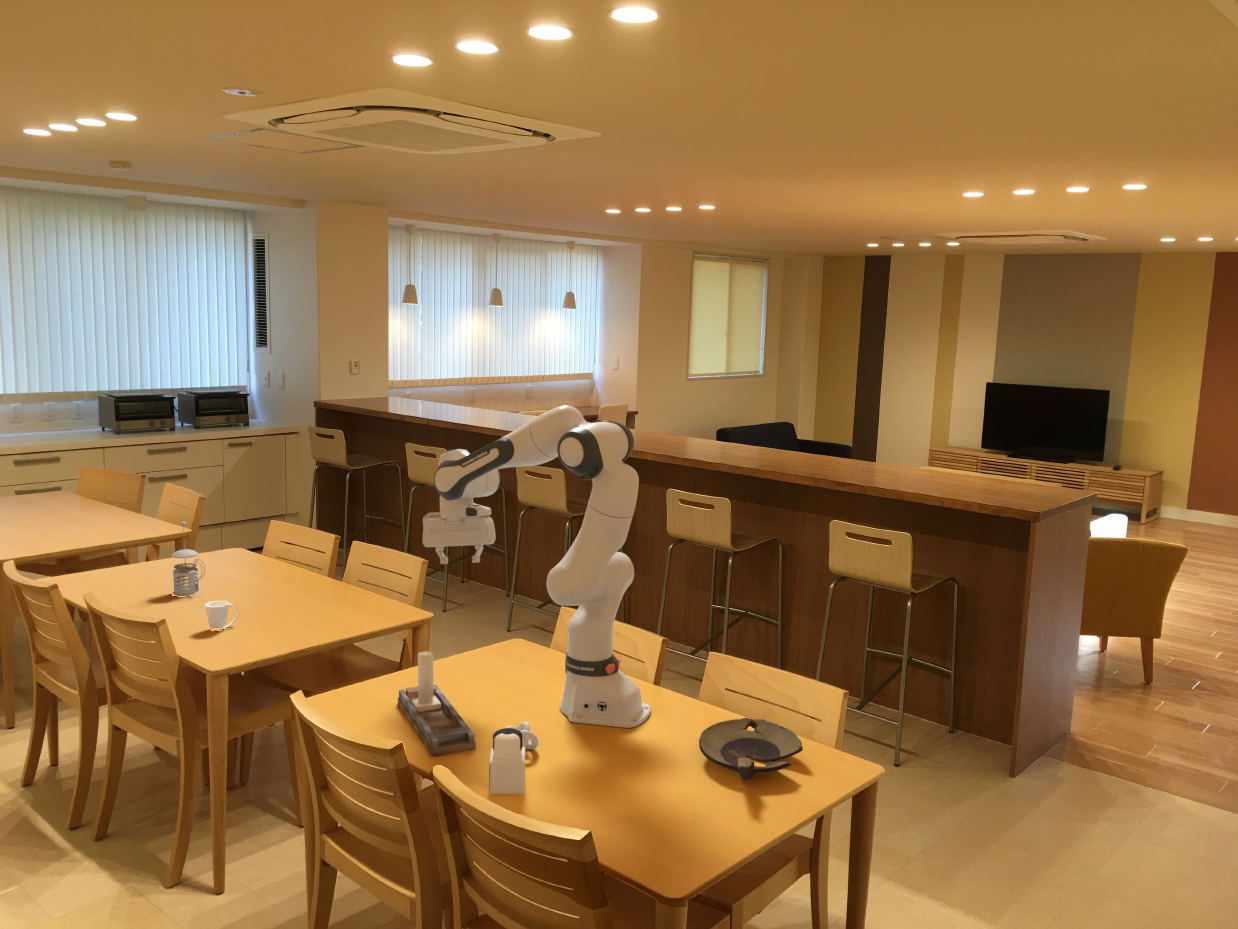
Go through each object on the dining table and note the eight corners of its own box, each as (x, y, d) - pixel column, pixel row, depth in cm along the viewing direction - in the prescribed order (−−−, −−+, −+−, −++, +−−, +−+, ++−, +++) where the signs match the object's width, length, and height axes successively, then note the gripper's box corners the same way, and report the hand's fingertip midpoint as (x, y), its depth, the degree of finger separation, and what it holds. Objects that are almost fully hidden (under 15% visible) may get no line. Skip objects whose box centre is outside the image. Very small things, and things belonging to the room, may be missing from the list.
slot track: (475, 749, 217) (475, 730, 216) (432, 756, 212) (431, 737, 212) (437, 697, 245) (437, 680, 244) (397, 703, 241) (397, 686, 240)
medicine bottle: (490, 779, 203) (491, 724, 201) (524, 778, 204) (525, 724, 202) (489, 795, 196) (489, 739, 194) (524, 795, 197) (525, 739, 195)
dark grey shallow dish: (817, 755, 218) (819, 723, 217) (760, 809, 193) (762, 773, 192) (728, 730, 230) (730, 699, 229) (664, 778, 205) (665, 744, 204)
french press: (181, 588, 334) (178, 517, 330) (212, 590, 332) (210, 519, 329) (164, 596, 324) (161, 523, 321) (196, 598, 323) (193, 525, 319)
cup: (201, 629, 292) (200, 603, 291) (233, 622, 300) (232, 597, 298) (211, 634, 288) (210, 608, 286) (244, 627, 295) (243, 601, 294)
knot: (543, 746, 219) (544, 722, 218) (531, 761, 212) (531, 736, 211) (512, 741, 221) (513, 717, 220) (499, 756, 214) (499, 731, 213)
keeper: (441, 708, 234) (441, 656, 232) (416, 712, 232) (416, 659, 230) (434, 699, 240) (434, 648, 238) (410, 703, 237) (410, 651, 235)
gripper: (416, 513, 257) (419, 565, 256) (485, 509, 250) (489, 562, 250) (428, 512, 263) (431, 563, 262) (496, 508, 256) (499, 560, 256)
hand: (460, 563), depth 256 cm, fingers open, 8 cm apart
